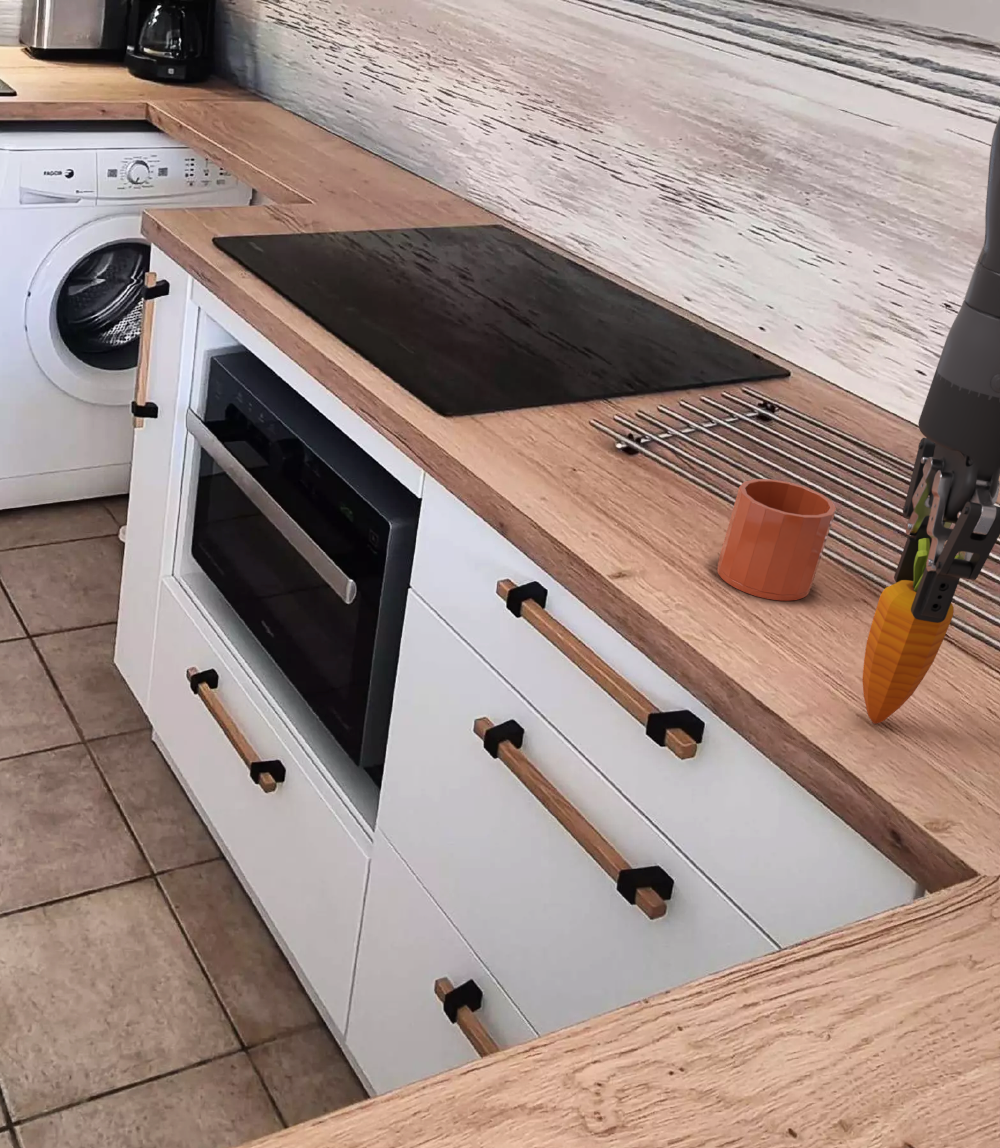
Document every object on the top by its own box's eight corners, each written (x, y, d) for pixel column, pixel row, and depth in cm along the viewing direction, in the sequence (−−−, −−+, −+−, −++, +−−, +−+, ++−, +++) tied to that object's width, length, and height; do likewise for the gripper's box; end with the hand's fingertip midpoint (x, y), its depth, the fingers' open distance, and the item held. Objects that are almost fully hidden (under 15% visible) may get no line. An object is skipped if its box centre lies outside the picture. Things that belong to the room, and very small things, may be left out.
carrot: (843, 697, 116) (904, 521, 109) (911, 718, 114) (977, 541, 107) (836, 726, 111) (899, 545, 105) (906, 748, 110) (974, 566, 103)
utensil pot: (801, 568, 137) (826, 488, 133) (816, 607, 130) (843, 523, 126) (712, 553, 138) (734, 473, 134) (722, 591, 130) (746, 507, 127)
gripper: (1091, 422, 94) (999, 659, 101) (1023, 354, 106) (945, 569, 114) (967, 403, 94) (884, 639, 102) (914, 338, 107) (844, 552, 115)
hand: (917, 601), depth 108 cm, fingers closed on carrot, 4 cm apart
